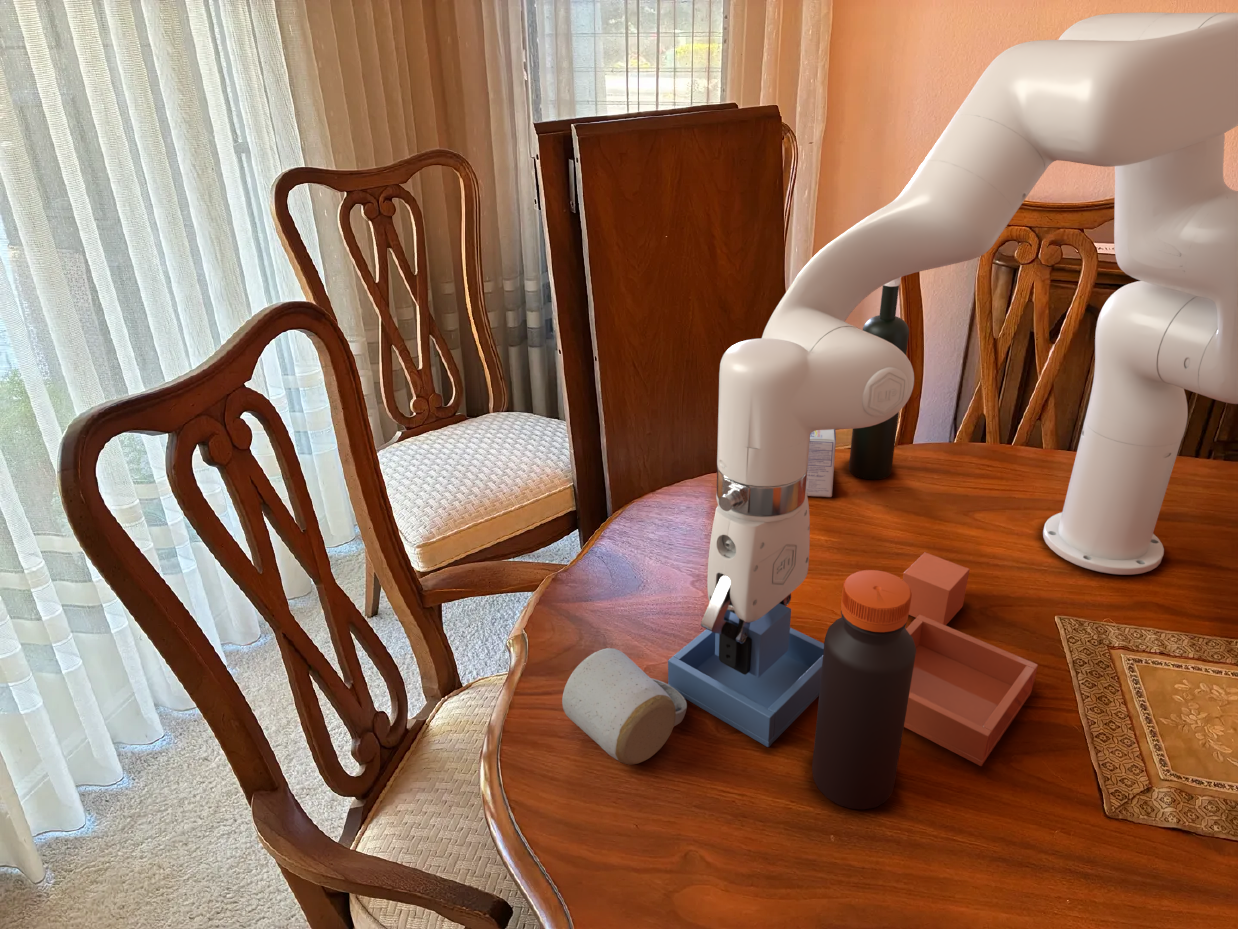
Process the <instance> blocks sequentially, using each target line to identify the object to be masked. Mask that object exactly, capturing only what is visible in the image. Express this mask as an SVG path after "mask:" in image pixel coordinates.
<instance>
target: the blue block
mask: <svg viewBox="0 0 1238 929" xmlns="http://www.w3.org/2000/svg"><path fill="white" fill-rule="evenodd" d="M791 618H792V608H790V607H788V606H784V605H782V604H780V603H778V604H777V605H776V606H775V607H774V608H772V609H771V610H770V611H769V612H768V613H766V614H765V615H764V616H762V617H761V618H760V619H758V620H756V621H754V622H751V623H750V627H749V632H748V636H747V637H749V638H751V639H752V644H751V663H750V671H749V673H750V674H752V675H754V676H756V677H758V678H759V677H760V676H761V675H762V674H763V673H764V672H765V671H766V670H767V669H769V668H770V667H771V666H772V665H773V664H774V663H775V662H776V661H777V660H778V659H779V658H780V657H782V656H783V655H784V654H785V653H786V652H787V651H788V646H789V633H790V628H791ZM729 622H730V623H732V624H734V625H735V626H737V627H738V624H739V618H738V617H737V615H736V614H734V613H732V612H730V617H729ZM715 655H717V656H719V634H718V633H715Z"/></svg>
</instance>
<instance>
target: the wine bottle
mask: <svg viewBox="0 0 1238 929" xmlns="http://www.w3.org/2000/svg"><path fill="white" fill-rule="evenodd" d="M901 279H902V277H900V278H897V279H895V280H892V281H890V282H888V283H886V284H884V285H883V286H882V288H881V289H882V290H881V297H880V308H879V315H875V316H872V317H870V318H869V319H868V320H866V322H865V323H864V324H863V326H862V330H863V331H865V332H868V333H870V334H873V335H875V336H878V337H880V338H882V339H884V340H886V341H888V342H890V343H892V344H893V345H895V346H896V347H897V348H899V349H900V350H901V351H902V352H903V353H904V354H905V355H906V356H907V354H908V353H907V352H908V344H909V336H910V329H909V325H908V324H907V323H906V321H905V320H904V319H902V318H901V317H899V316H896V315H897V305H898V300H899V299H898V298H899V291H900V290H899V289H900V285H901V281H902V280H901ZM899 415H900V411H899V412H898V413H897V414H895V415H894V416H893V417H891V418H890V419H888V420H886V421H884V422H882V423H879V424H876V425H873V426H869V427H864V428H855V429H851V430H852V432H851V441H850V451H849V460H848V461H849V462H848V470H849V472H850V473H851V474H852V475H853V476H855V477H858V478H861V479H863V480H869V481H875V480H876V481H878V480H883V479H886V478H888V477H890V476H891V474H892V470H893V461H894V454H895V446H896V439H897V430H898V423H899Z"/></svg>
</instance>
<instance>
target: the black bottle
mask: <svg viewBox="0 0 1238 929" xmlns="http://www.w3.org/2000/svg"><path fill="white" fill-rule="evenodd" d="M911 597H912V593H911V590H910V588H909V586H908V585H907V584H906V583H905V581H903V578H900V577H899V576H898V575H895V574H892V573H890V572H887V571H882V570H877V569H875V570H874V569H865V570H860V571H856V572H853V573H851V574H849V576H847V577H846V578H845V579H844V581H843V584H842V593H841V600H840V601H841V602H840V615H841V617H839V618H837V619H836V620H834V622H833V623H831V624H830V625H829V626H828V628H827V631H826V633H825V635H824V642H823V643H824V652H823V662H822V672H821V682H820V692H819V696H818V704H817V715H816V724H815V735H814V744H813V754H812V755H813V756H812V765H811V770H812V778H813V781H814V784H815V785H816V787H817V789H818V790H819V792H821V793H822V794H823V796H824V797H825V798H827V799H829V800H830V801H831V802H833V803H835V804H836V805H839V806H840V807H841V806H842V807H845V808H848V809H850V810H851V809H852V810H869V809H873V808H877V807H879V806H881V805H882V804H884V803H886V802H887V800H888V799H889V798H890V797H891V795H892V794H893V792H894V787H895V784H896V776H897V771H898V764H899V758H900V752H901V745H902V740H903V734H904V728H905V727H904V722H905V716H906V710H907V704H908V698H909V692H910V686H911V680H912V674H913V668H914V662H915V655H916V647H915V643H914V640H913V638H912V636H911V635H910V634H909V633H908V631H907V630H906V628H907V627H906V626H907V624H908V619H909V616H910V615H909V609H910V603H911Z"/></svg>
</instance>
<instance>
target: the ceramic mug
mask: <svg viewBox="0 0 1238 929" xmlns="http://www.w3.org/2000/svg"><path fill="white" fill-rule="evenodd" d="M562 692H563V693H562V697H561V698H562V699H561V706H562V709H563V712H564V714H565V715H566V717H567V718H568V719H569V720H570V721H572V722H573V723H574V725H576V727H578V728H580V730H582V731H583V733H585V734H586V735H587V736H588V737H589V738H590V739H591V740H593V742H595V743H596V744H597V745H598V746H599V747H600V748H601V749H602V750H603V751H604V752H606V753H607V754H608V755H609V756H610V757H612V758H613V759H615V760H617V761H618V762H620V763H622V764H625V765H630V766H631V765H638V764H640V763H643V762H645V761H647V760H650V759H651V758H652V757H653V756H654V755H655V754H657V753H658V752H659V751H660V750H661V749H662V747H664V745H665V744H666V743H667V741H668V740H669V738H670V736H671V734H672V732H673V730H674V727H676V726H678V725H679V724H680V723H682V721H683V720H684V718H685V715H686V712H687V709H688V703H687V702H688V701H687V699H685V698H684V697H683V696H682V695H681V694H680V693H679V692H678V691H677V690H676V689H675V688H673V687H671V686H670V685H668V683H666V682H664V681H662V680H659V679H656V678H653V677H650V676H649V675H648V674H646V673H645V671H644V670H643V669H642V668H640V666H638V665H637V664H636V662H634V661H633V660H632V659H631V658H629V656H627V654H626V653H624V652H622V651H621V650H619V649H617V648H611V647H609V648H608V647H607V648H601V649H599V650H597V651H594V652H593V653H591V654H590V655H588V656H587V657H586V658H584V659H583V660H582V661H581V662H580V663H579V664H578V665H577V666H576V667H575V668H574V670H573V671H572V672H571V674H570V675H569V678H568V679H567V682H566V683H565V685H564V688H563V691H562Z"/></svg>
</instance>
